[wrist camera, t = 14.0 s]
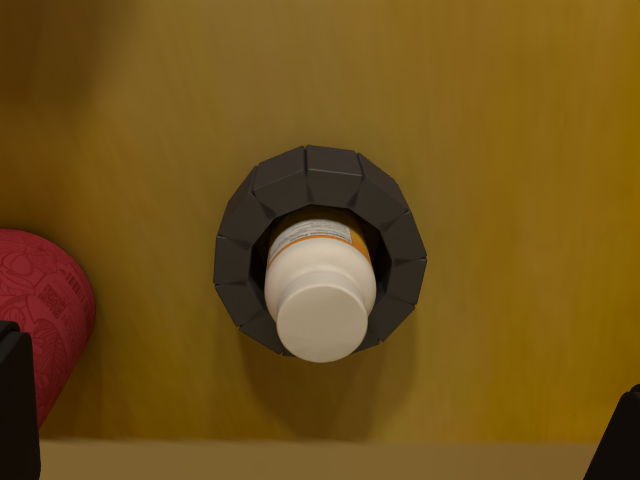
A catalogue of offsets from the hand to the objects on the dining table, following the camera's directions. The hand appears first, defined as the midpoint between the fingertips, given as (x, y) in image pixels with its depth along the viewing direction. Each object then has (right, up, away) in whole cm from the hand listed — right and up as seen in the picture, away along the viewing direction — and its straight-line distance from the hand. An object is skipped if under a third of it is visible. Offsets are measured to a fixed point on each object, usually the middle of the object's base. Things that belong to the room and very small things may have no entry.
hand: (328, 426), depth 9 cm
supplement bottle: (0, +3, +25) cm, 25 cm away
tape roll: (0, +3, +24) cm, 25 cm away
